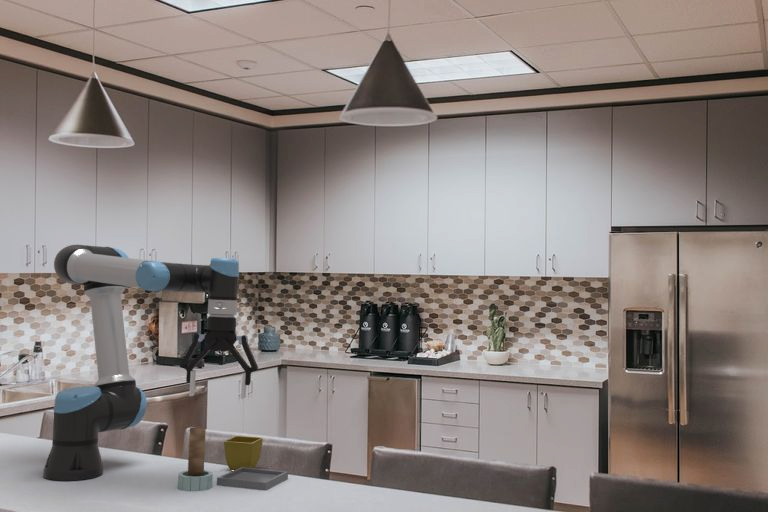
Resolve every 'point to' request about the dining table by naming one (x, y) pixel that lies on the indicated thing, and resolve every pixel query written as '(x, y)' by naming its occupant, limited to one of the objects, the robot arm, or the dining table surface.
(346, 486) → the dining table surface
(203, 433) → the cylinder
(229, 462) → the flower pot
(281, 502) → the dining table surface
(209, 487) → the crock
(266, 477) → the tray
